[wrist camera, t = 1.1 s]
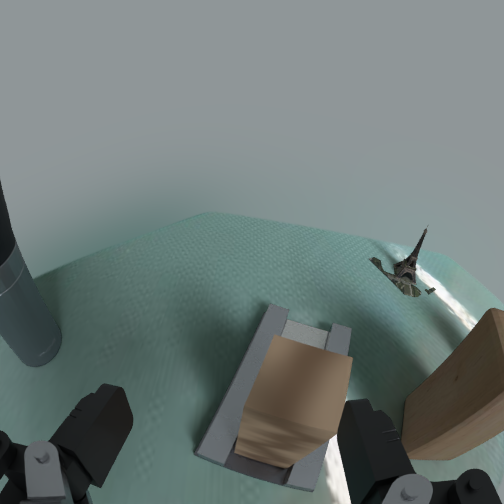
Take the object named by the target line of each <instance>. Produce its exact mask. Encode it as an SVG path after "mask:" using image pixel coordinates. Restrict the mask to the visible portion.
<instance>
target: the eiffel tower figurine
mask: <svg viewBox="0 0 504 504" xmlns="http://www.w3.org/2000/svg"><path fill="white" fill-rule="evenodd" d="M426 233H427V229H425V230H424V233H423V235H422V237H421V239H420V240H419V242H418V244H417V246H416V247H415V249H414V251H413V252H412V253H411V255H410V256H409V257H408V258H406V259H404V260H403V261H401V262H399V263H397V264H394V272H395V275H394V274H390V273H387V272H385V271H384V270H383V268H382V266H381V260H379V259H377V258H375V257H373V258H370V259H369V260H371V261H372V262H373V263H374V264H375V265H376V266H377V267H378V268H379V269H380V270H381V271H382V272H383V273H384V274H385V275H386V276H387V277H388V278H389V279H390V280H391V281H392V282H393V283H394V284H395V285H396V286H397V287H398V288H399V289H400V290H401V291H402V292H403V294H405V295H409V296H412V297H418V296H419V295H421V291H420V290H419V289H418V288H417V287H415V286H414V285H416V277H415V271H416V261H417V259H418V258H417V256H418V253H419V250H420V248H421V245H422V242H423V239H424V237H425V234H426ZM401 265H402V266H401ZM412 284H414V285H412ZM435 290H436V289H435V288H434V287H433V288H431V289H429V290H427V289H425V291H426V292H427V293H428V295H429V294H430V293H432V292H433V291H435Z"/></svg>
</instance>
